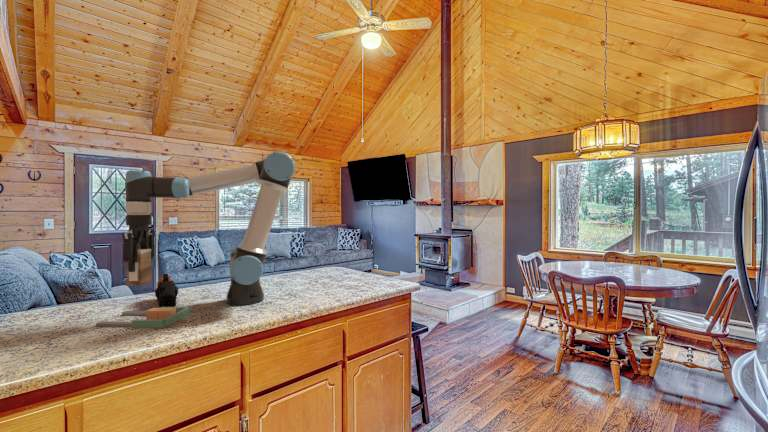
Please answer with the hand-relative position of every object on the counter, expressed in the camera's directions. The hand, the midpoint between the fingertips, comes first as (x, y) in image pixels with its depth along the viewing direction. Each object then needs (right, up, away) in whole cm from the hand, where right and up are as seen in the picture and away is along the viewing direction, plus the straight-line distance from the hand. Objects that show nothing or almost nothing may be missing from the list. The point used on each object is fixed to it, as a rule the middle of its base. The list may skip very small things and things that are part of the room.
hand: (139, 278), depth 126 cm
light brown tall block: (0, -2, 0) cm, 2 cm away
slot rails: (-4, -15, +1) cm, 15 cm away
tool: (-3, -15, +20) cm, 25 cm away
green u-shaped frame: (+8, -15, +1) cm, 17 cm away
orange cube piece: (+10, -15, +1) cm, 18 cm away
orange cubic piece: (+5, -15, +1) cm, 16 cm away
